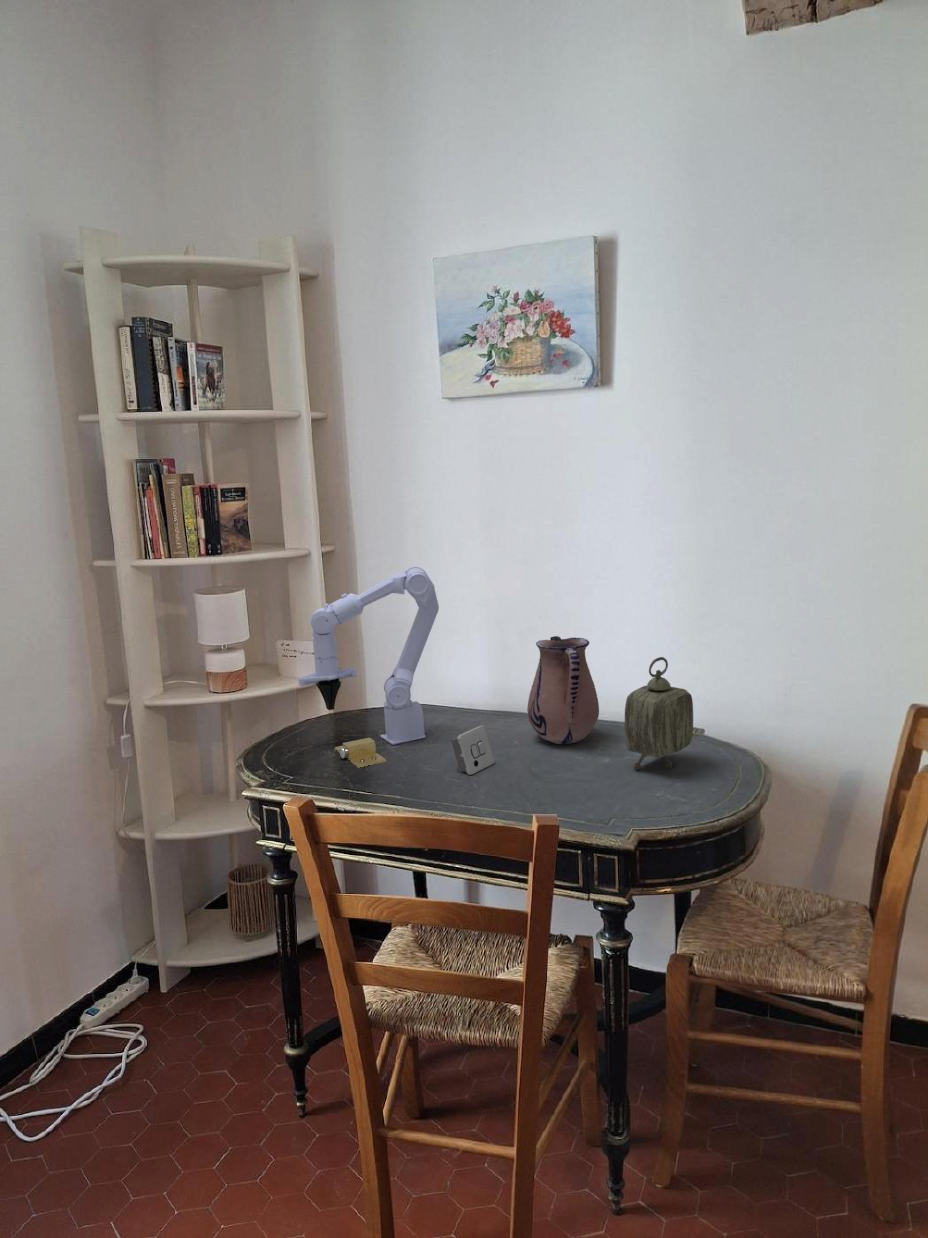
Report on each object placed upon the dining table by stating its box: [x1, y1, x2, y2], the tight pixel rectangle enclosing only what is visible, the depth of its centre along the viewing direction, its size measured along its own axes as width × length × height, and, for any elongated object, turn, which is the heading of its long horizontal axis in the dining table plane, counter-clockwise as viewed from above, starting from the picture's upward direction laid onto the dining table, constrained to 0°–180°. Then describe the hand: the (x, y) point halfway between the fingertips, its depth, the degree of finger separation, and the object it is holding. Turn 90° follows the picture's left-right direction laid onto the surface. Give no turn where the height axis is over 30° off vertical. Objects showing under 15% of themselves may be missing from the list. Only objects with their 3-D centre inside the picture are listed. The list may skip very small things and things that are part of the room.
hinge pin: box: [339, 743, 377, 759], centre depth 223 cm, size 9×3×3 cm, turn 118°
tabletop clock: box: [623, 656, 694, 771], centre depth 203 cm, size 14×9×25 cm, turn 134°
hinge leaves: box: [334, 737, 387, 769], centre depth 223 cm, size 7×16×3 cm, turn 28°
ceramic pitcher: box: [527, 635, 600, 745], centre depth 224 cm, size 18×21×25 cm
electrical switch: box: [450, 725, 495, 776], centre depth 210 cm, size 9×5×9 cm, turn 141°
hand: (330, 709), depth 231 cm, fingers closed
